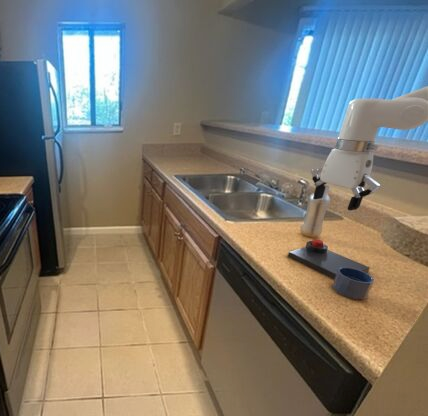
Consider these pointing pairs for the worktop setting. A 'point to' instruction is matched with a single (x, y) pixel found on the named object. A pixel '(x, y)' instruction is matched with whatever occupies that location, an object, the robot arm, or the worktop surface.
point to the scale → (324, 260)
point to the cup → (352, 283)
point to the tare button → (317, 243)
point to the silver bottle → (315, 214)
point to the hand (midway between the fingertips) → (333, 203)
